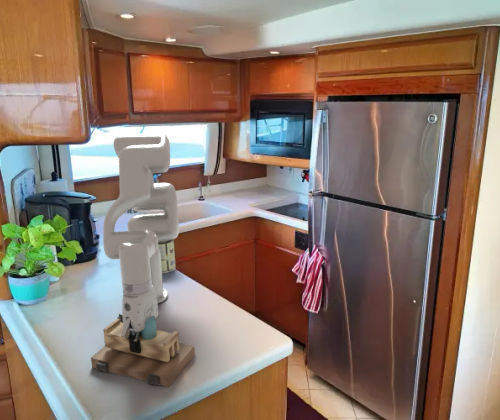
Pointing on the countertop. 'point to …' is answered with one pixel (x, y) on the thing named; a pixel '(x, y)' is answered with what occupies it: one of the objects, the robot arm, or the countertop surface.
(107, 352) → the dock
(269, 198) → the countertop surface
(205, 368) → the countertop surface
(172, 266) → the coffee can
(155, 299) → the robot arm
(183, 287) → the countertop surface
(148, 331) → the teal cylinder
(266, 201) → the countertop surface
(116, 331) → the light wood long block
